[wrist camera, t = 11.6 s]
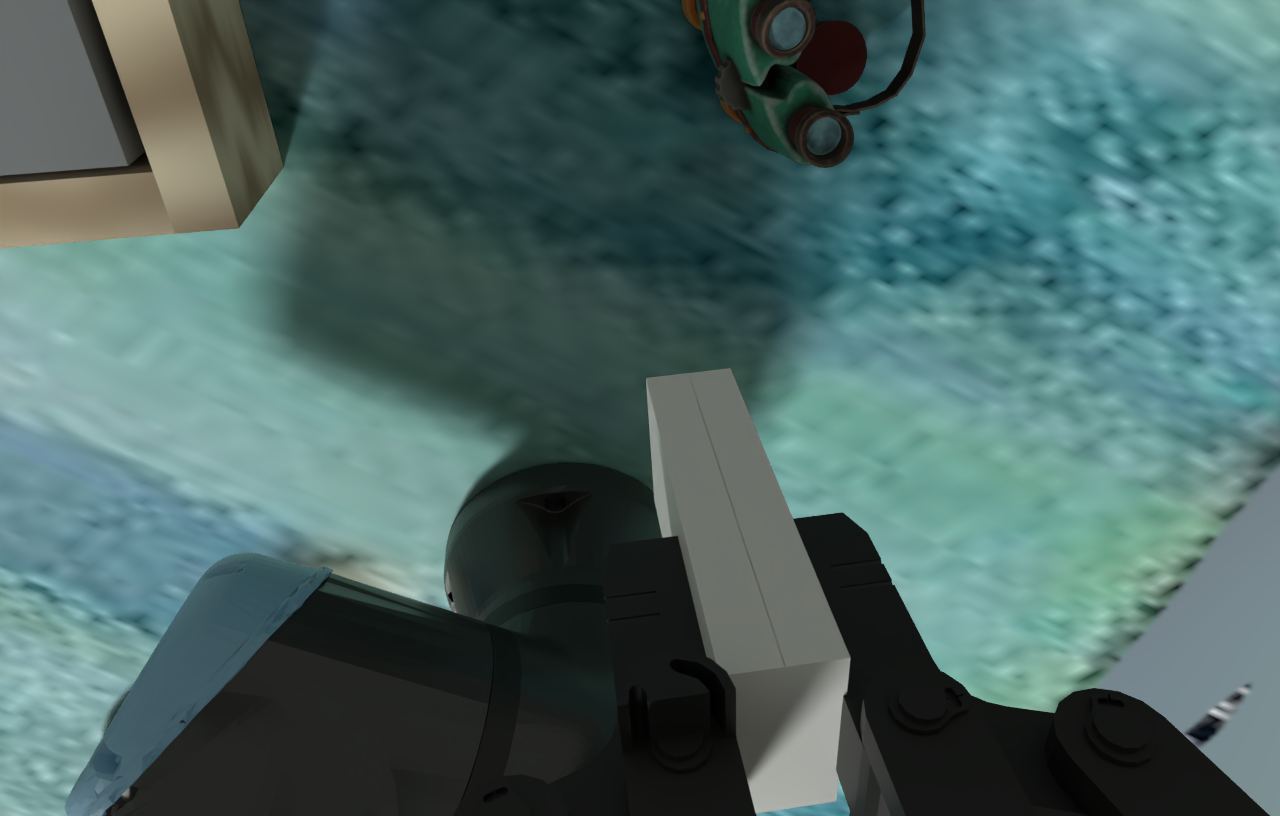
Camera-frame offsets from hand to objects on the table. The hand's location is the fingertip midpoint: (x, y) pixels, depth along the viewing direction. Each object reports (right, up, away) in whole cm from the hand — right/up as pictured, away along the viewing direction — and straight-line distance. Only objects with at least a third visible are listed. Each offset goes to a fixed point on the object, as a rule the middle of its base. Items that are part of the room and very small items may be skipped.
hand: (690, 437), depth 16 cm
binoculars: (+6, +19, +25) cm, 32 cm away
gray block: (-24, +16, +22) cm, 36 cm away
